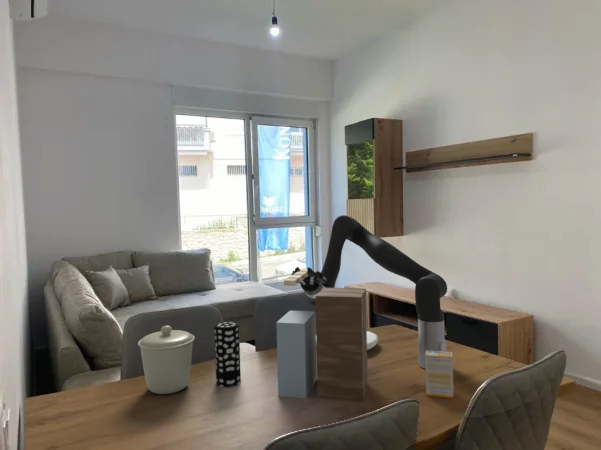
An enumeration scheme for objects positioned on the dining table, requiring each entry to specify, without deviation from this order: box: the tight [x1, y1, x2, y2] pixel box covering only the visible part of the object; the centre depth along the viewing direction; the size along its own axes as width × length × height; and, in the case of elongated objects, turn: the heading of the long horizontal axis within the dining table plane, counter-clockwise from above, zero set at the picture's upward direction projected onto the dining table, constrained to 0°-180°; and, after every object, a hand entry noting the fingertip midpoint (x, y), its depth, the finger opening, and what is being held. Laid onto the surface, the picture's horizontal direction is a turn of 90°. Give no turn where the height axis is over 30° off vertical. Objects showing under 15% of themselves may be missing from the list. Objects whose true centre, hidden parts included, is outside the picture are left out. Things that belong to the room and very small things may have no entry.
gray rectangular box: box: [275, 310, 317, 399], centre depth 149 cm, size 16×9×24 cm, turn 166°
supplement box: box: [424, 350, 454, 399], centre depth 141 cm, size 8×5×13 cm, turn 71°
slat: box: [283, 268, 309, 287], centre depth 152 cm, size 24×4×2 cm, turn 166°
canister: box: [137, 325, 195, 395], centre depth 151 cm, size 18×18×21 cm
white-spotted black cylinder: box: [213, 320, 242, 388], centre depth 155 cm, size 8×8×20 cm
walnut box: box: [315, 287, 368, 403], centre depth 145 cm, size 14×14×32 cm
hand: (302, 269), depth 158 cm, fingers closed on slat, 3 cm apart
